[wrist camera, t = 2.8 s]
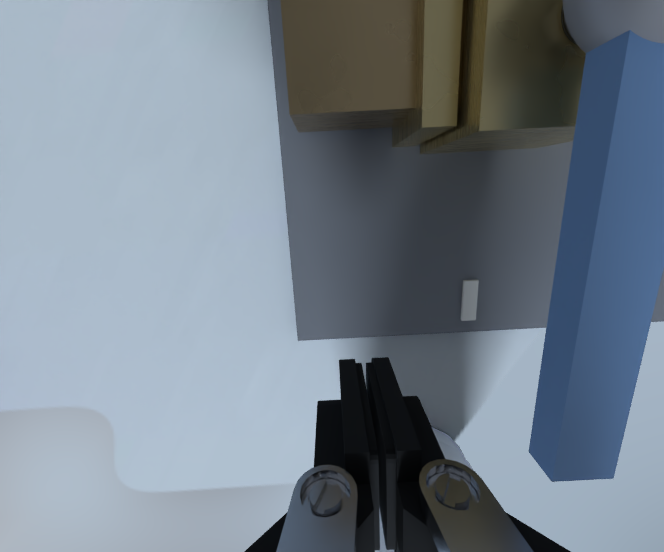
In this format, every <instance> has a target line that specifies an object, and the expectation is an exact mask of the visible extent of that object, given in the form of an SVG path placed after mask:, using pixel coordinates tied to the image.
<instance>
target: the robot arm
mask: <svg viewBox="0 0 664 552" xmlns="http://www.w3.org/2000/svg"><path fill="white" fill-rule="evenodd" d="M339 368H340V388H341V400H327V401H318V405H317V422H316V440H315V458H314V468H311V469H310V470H308V471H307V472H305V473H304V474H303V475H302V476H301V477H300V479H299V480H298V481H297V483H296V486H295V488H294V491H293V494H292V498H291V502H290V505H289V509H288V512H287V513H286V514H285V515H284V516H283V517H282V518H281V519H280V520H279V521H277V522H276V523H275V524H274V525H273V526H272V527H271V528H270V529H269V530H268V531H266V532H265V533H264V534H263V535H262V536H261V537H260V538H259V539H258V540H257V541H256V542H255V543H253V544H252V545H251V546H250V547H249V548H248V549H247V550H246V551H245V552H375V551H376V550H380V518H379V508H380V515H381V521H382V527H383V533H384V539H385V545H386V549H387V550H394V552H570V551H569V550H567V549H565V548H564V547H562V546H560V545H559V544H557V543H555V542H554V541H552V540H550V539H549V538H547V537H545V536H544V535H542V534H540V533H539V532H537V531H536V530H534V529H532V528H531V527H529V526H527V525H526V524H524V523H522V522H521V521H519V520H517V519H516V518H514V517H513V516H511V515H509V514H508V513H506V512H505V511H504V510H503V508H502V507H501V505H500V504H499V503H498V501H497V500H496V498H495V497H494V496H493V494H492V493H491V491H490V490H489V489H488V487H487V486H486V484H485V483H484V482H483V480H482V479H481V478H480V477H479V476H478V475H477V473H475V471H473V470H472V469H470V468H469V467H468V466H466V465H464V464H462V463H459V462H457V461H453V460H448V459H445V457H444V455H443V452H442V450H441V448H440V445H439V443H438V441H437V439H436V436H435V434H434V432H433V430H432V427H431V425H430V423H429V420H428V418H427V416H426V414H425V411H424V409H423V407H422V405H421V402H420V400H419V398H418V397H417V396H406V397H403V396H402V394H401V391H400V388H399V385H398V383H397V380H396V377H395V374H394V372H393V369H392V366H391V363H390V361H389V358H388V357H385V358H372V363H366V385H365V379H364V374H363V369H362V364H361V363H355V359H346V360H339ZM366 387H367V390H366Z"/></svg>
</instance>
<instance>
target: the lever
mask: <svg viewBox="0 0 664 552" xmlns="http://www.w3.org/2000/svg"><path fill="white" fill-rule="evenodd" d="M563 11H564V17H565V20H566V24H567V27H568V29H569V31H570V34H571V36H572V37H573V39H574V41H575V42H576V44H577V45H578V46H579V47H580V48H581V49H582V50H583V51H584V52H585V53H586V56H585V63H584V70H583V77H582V84H581V91H580V98H579V105H578V112H577V119H576V126H575V133H574V140H573V147H572V154H571V161H570V168H569V175H568V182H567V189H566V196H565V203H564V210H563V216H562V223H561V230H560V237H559V244H558V251H557V258H556V265H555V272H554V279H553V286H552V293H551V300H550V307H549V314H548V321H547V328H546V335H545V342H544V350H543V356H542V364H541V370H540V377H539V384H538V391H537V398H536V405H535V411H534V418H533V426H532V434H531V439H530V447H529V453H530V454H531V455H532V457H533V458H534V459H535V460H536V462H537V463H538V464H539V466H540V467H541V468H542V469H543V471H544V472H545V473H546V475H547V476H548V477H549V479H550V480H551V481H552V482H554V481H574V480H593V479H612V478H614V474H615V469H616V465H617V461H618V457H619V452H620V448H621V444H622V440H623V436H624V432H625V428H626V423H627V419H628V415H629V411H630V407H631V402H632V398H633V394H634V390H635V385H636V382H637V377H638V373H639V369H640V365H641V361H642V356H643V352H644V348H645V344H646V340H647V336H648V331H649V327H650V323H651V319H652V315H653V311H654V306H655V302H656V298H657V294H658V290H659V286H660V281H661V277H662V273H663V269H664V0H563Z"/></svg>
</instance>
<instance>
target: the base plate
mask: <svg viewBox="0 0 664 552" xmlns="http://www.w3.org/2000/svg"><path fill="white" fill-rule="evenodd" d="M268 10H269V21H270V33H271V44H272V55H273V66H274V78H275V89H276V100H277V111H278V122H279V134H280V145H281V156H282V167H283V179H284V190H285V201H286V212H287V223H288V235H289V246H290V257H291V268H292V280H293V291H294V302H295V313H296V325H297V336H298V341H301V340H320V339H339V338H358V337H377V336H395V335H414V334H433V333H452V332H470V331H489V330H508V329H527V328H546V327H547V321H548V314H549V307H550V300H551V293H552V286H553V279H554V272H555V265H556V258H557V251H558V244H559V237H560V230H561V223H562V216H563V210H564V203H565V196H566V189H567V182H568V175H569V168H570V161H571V154H572V147H573V141H570V142H565V143H560V144H556V145H551V146H546V147H541V148H529V149H510V150H492V151H473V152H455V153H436V154H420V144H419V145H417V146H409V147H392V128H374V129H355V130H337V131H318V132H300V133H299V132H298V131H297V129H296V127H295V125H294V123H293V121H292V119H291V117H290V114H289V102H288V89H287V77H286V64H285V52H284V39H283V26H282V14H281V1H280V0H268ZM658 321H664V269H663V273H662V277H661V281H660V286H659V290H658V294H657V298H656V302H655V306H654V311H653V315H652V319H651V322H658Z"/></svg>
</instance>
